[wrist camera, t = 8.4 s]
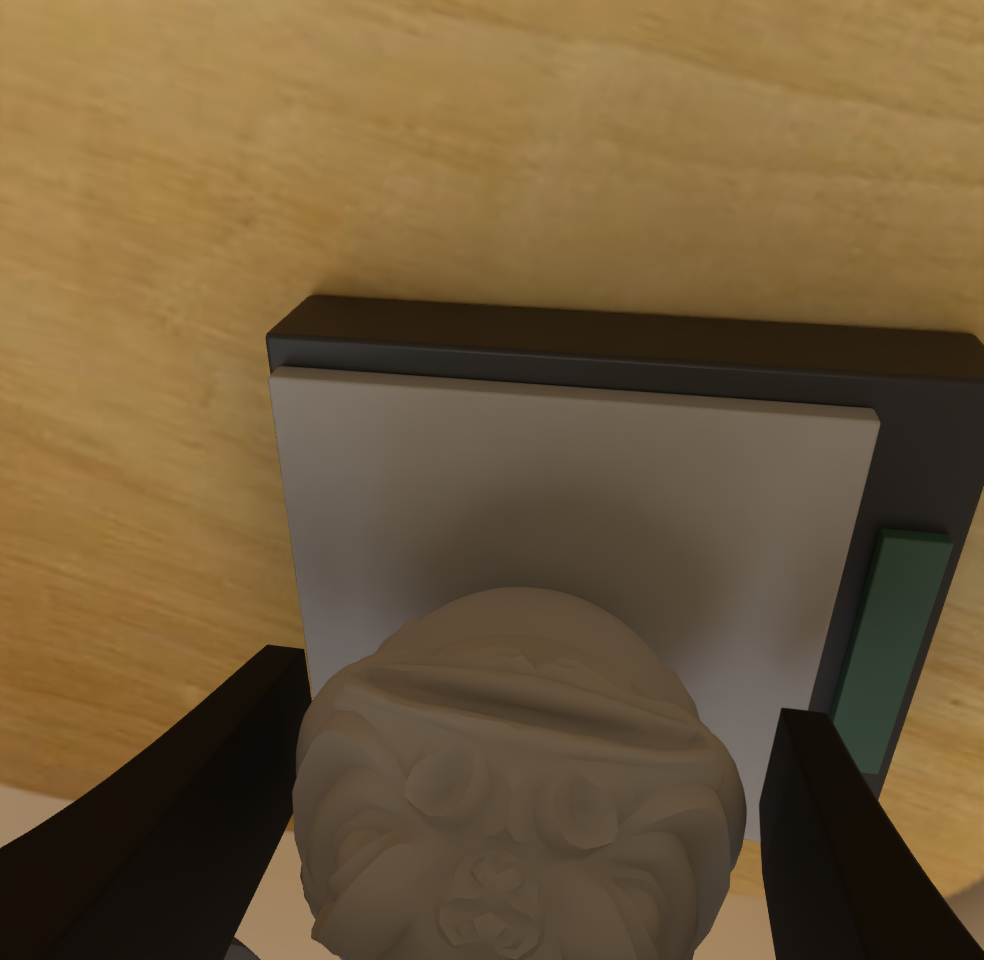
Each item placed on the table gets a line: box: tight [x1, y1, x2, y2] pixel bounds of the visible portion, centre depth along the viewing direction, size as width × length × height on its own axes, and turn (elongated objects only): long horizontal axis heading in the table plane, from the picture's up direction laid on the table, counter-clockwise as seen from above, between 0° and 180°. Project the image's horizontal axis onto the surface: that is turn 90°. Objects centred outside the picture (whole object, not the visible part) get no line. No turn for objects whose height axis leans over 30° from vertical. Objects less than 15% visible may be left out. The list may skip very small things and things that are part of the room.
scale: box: [266, 296, 984, 842], centre depth 16 cm, size 10×11×2 cm
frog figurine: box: [292, 587, 747, 960], centre depth 12 cm, size 6×7×7 cm
